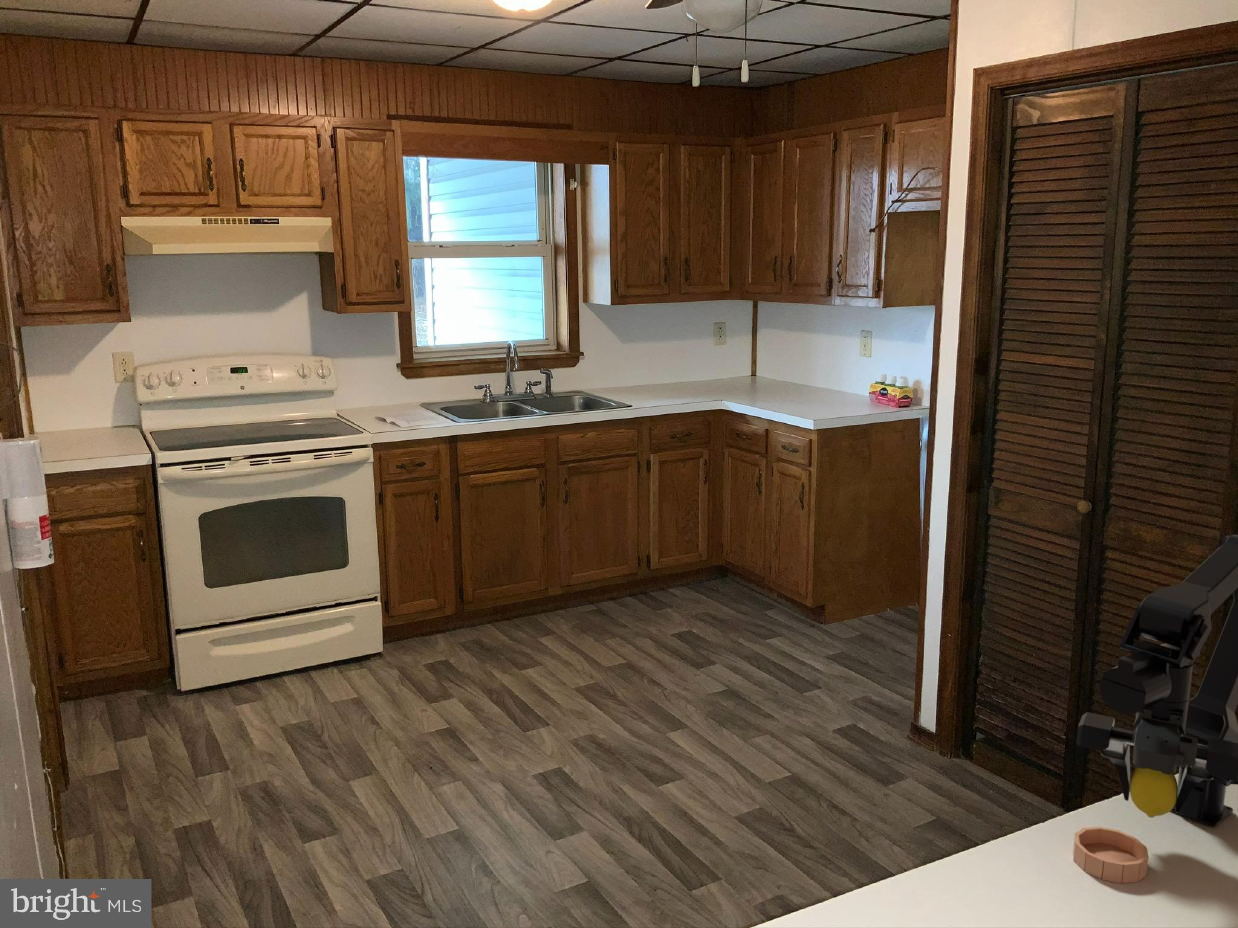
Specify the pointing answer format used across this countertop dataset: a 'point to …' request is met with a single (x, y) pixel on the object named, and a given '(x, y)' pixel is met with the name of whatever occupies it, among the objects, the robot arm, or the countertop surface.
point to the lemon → (1153, 791)
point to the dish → (1110, 854)
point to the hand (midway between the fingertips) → (1151, 805)
